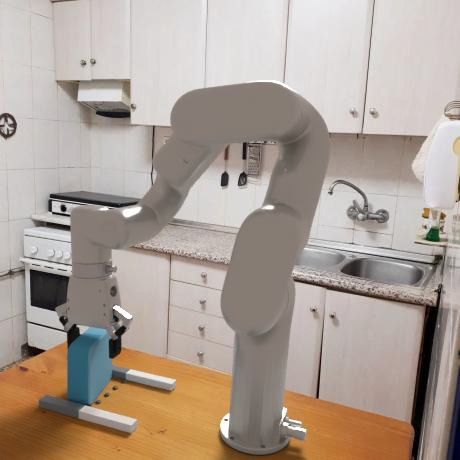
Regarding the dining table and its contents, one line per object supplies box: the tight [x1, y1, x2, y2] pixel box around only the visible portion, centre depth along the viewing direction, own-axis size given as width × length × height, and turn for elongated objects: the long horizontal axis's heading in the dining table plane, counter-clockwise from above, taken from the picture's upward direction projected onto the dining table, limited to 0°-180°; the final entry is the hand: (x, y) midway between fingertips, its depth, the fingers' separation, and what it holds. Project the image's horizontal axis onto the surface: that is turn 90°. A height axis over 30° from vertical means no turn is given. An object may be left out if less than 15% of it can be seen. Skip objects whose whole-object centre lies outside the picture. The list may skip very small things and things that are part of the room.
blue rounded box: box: [66, 327, 113, 406], centre depth 93 cm, size 12×4×12 cm, turn 173°
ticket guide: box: [38, 364, 177, 434], centre depth 92 cm, size 20×18×2 cm
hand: (94, 352), depth 92 cm, fingers open, 9 cm apart
